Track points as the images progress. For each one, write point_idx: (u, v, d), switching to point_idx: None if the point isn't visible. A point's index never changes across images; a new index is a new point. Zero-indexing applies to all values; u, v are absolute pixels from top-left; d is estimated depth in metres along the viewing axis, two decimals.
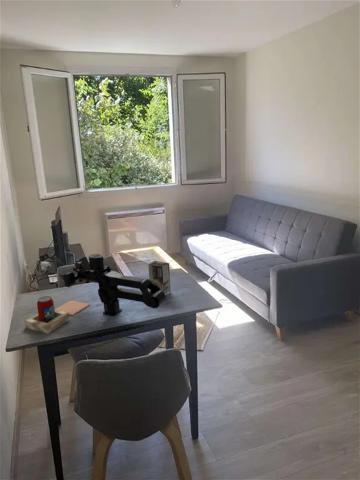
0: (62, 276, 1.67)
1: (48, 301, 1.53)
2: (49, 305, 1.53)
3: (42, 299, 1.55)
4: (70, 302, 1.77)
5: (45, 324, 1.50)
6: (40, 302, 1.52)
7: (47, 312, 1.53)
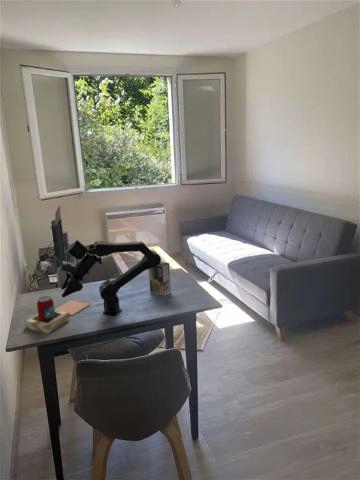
0: (66, 292, 1.52)
1: (48, 301, 1.53)
2: (49, 305, 1.53)
3: (42, 299, 1.55)
4: (70, 302, 1.77)
5: (45, 324, 1.50)
6: (40, 302, 1.52)
7: (47, 312, 1.53)
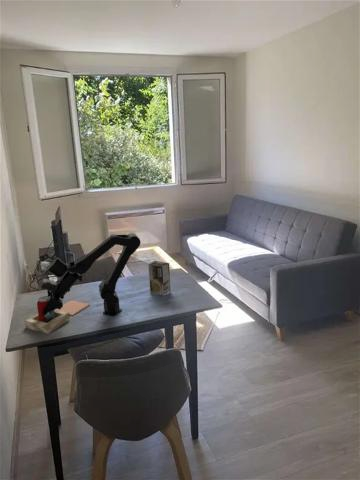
0: (46, 310, 1.52)
1: None
2: None
3: (42, 299, 1.55)
4: (70, 302, 1.77)
5: (45, 324, 1.50)
6: (40, 302, 1.52)
7: None
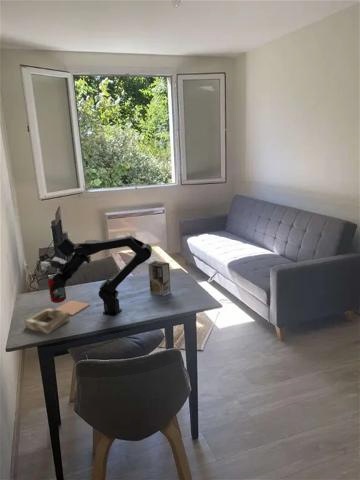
0: (54, 287, 1.58)
1: None
2: None
3: (53, 276, 1.62)
4: (70, 302, 1.77)
5: (45, 324, 1.50)
6: (50, 279, 1.60)
7: None
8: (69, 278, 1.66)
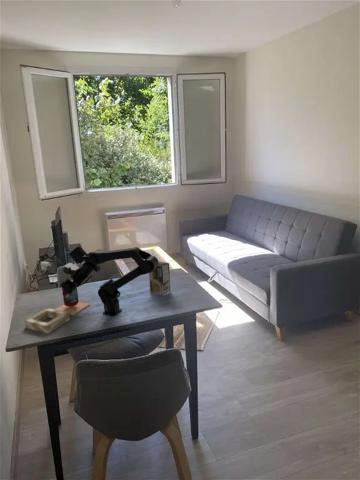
0: (64, 291, 1.65)
1: None
2: None
3: None
4: None
5: (45, 324, 1.50)
6: None
7: (67, 294, 1.67)
8: (82, 284, 1.72)
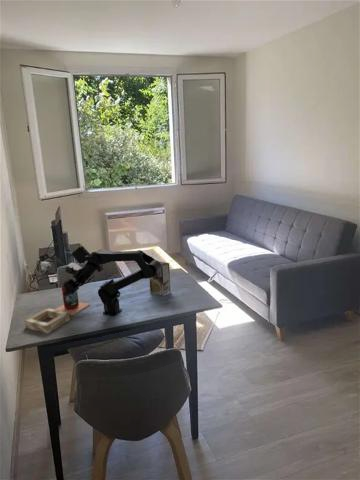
0: (66, 292, 1.64)
1: None
2: None
3: None
4: None
5: (45, 324, 1.50)
6: (63, 286, 1.67)
7: (67, 296, 1.67)
8: None
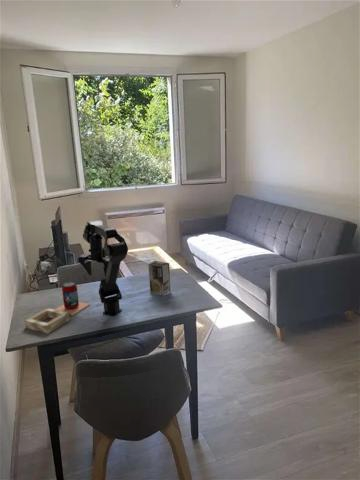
0: None
1: (69, 287, 1.66)
2: (69, 291, 1.66)
3: (67, 284, 1.69)
4: None
5: (45, 324, 1.50)
6: (63, 286, 1.67)
7: (67, 297, 1.67)
8: None
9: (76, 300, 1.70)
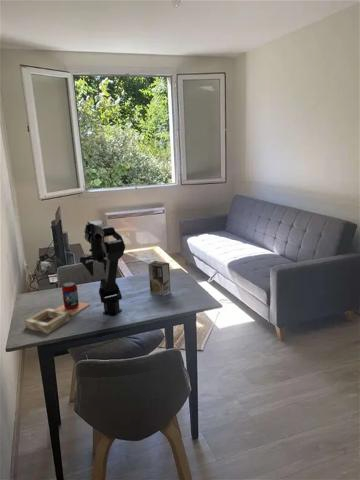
0: None
1: (69, 287, 1.66)
2: (69, 291, 1.66)
3: (67, 284, 1.69)
4: None
5: (45, 324, 1.50)
6: (63, 286, 1.67)
7: (67, 296, 1.67)
8: None
9: (76, 300, 1.70)
